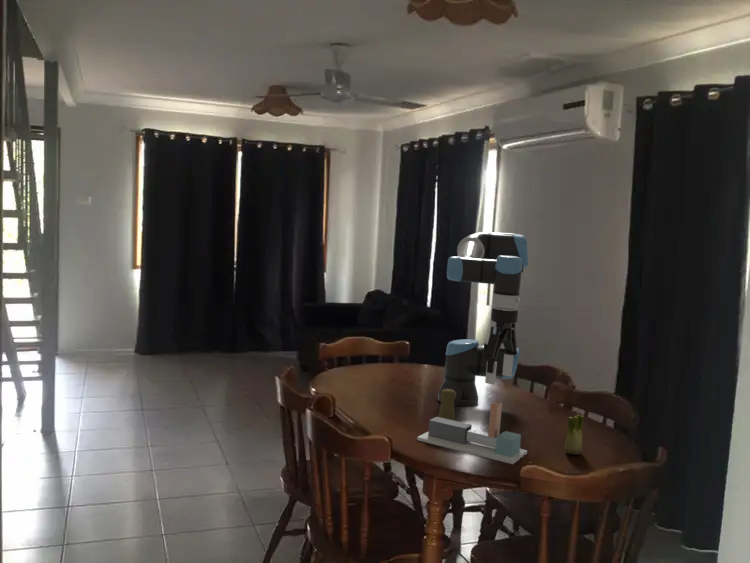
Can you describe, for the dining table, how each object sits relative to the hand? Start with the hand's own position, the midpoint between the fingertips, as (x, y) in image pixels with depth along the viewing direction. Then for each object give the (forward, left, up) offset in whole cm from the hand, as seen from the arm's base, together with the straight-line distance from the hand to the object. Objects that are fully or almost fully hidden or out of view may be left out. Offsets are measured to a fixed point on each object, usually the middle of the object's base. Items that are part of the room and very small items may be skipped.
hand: (498, 379), depth 213 cm
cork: (-24, +19, -22) cm, 38 cm away
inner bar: (-3, 0, -20) cm, 20 cm away
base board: (-7, 0, -22) cm, 23 cm away
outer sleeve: (-14, 0, -22) cm, 26 cm away
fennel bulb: (+20, +16, -22) cm, 34 cm away
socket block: (+5, 0, -22) cm, 23 cm away
